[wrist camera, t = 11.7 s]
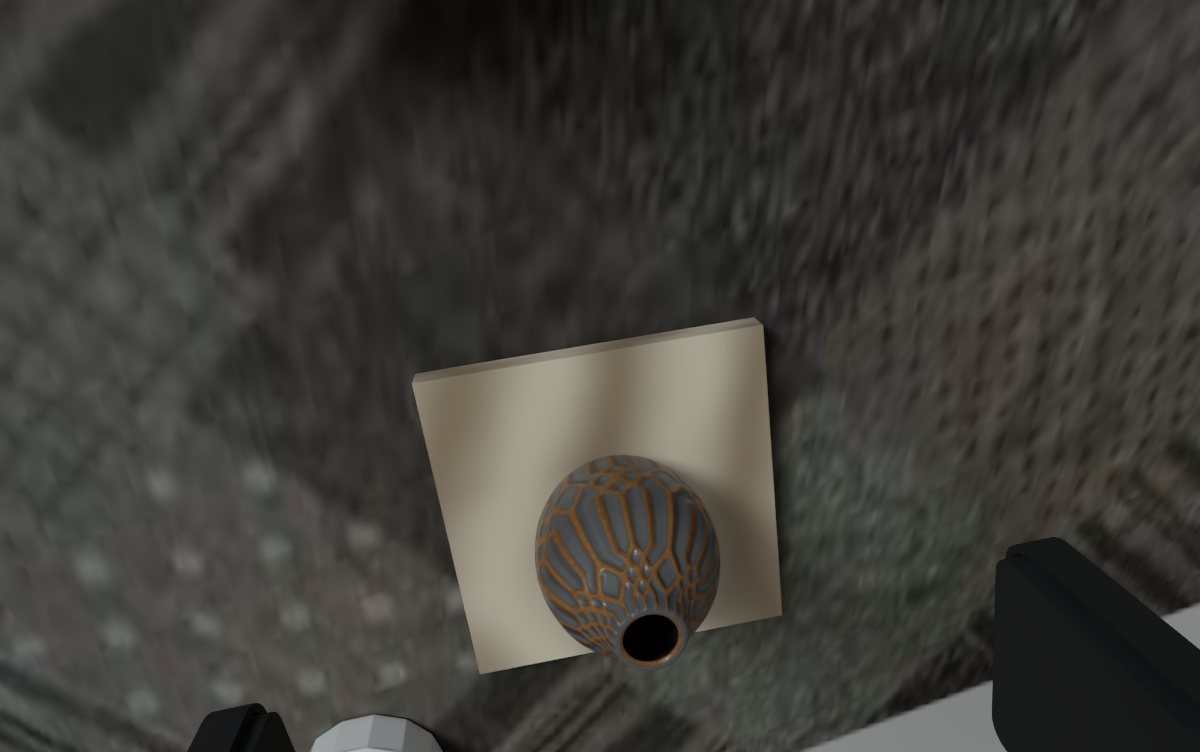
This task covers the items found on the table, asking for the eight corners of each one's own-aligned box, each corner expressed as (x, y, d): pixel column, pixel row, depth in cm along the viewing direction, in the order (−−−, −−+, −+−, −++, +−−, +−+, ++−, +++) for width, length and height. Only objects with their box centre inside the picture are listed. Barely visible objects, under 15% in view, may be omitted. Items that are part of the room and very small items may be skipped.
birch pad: (753, 317, 31) (763, 324, 30) (773, 599, 36) (782, 615, 35) (415, 373, 30) (412, 383, 29) (480, 656, 35) (480, 674, 34)
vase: (697, 563, 33) (761, 709, 25) (542, 588, 33) (556, 745, 25) (687, 419, 31) (754, 528, 23) (520, 444, 31) (527, 563, 22)
